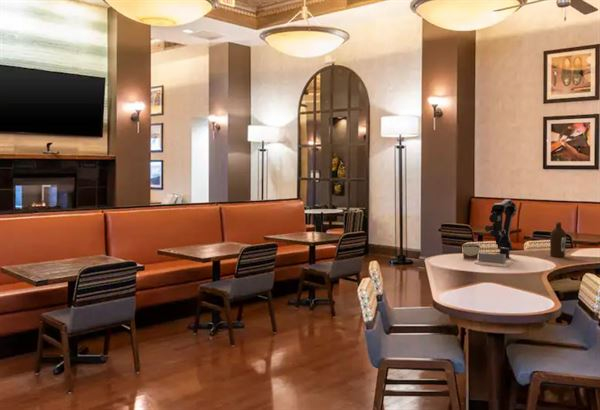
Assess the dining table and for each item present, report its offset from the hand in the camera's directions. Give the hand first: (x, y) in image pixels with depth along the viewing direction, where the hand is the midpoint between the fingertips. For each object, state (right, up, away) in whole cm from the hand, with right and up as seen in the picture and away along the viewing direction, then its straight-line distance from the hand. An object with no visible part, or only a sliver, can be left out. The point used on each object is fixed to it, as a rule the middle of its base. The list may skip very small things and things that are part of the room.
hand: (497, 244), depth 383 cm
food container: (-16, -11, +10) cm, 22 cm away
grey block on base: (-6, -12, -10) cm, 17 cm away
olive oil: (+52, -11, +23) cm, 58 cm away
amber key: (-9, -8, -15) cm, 19 cm away
